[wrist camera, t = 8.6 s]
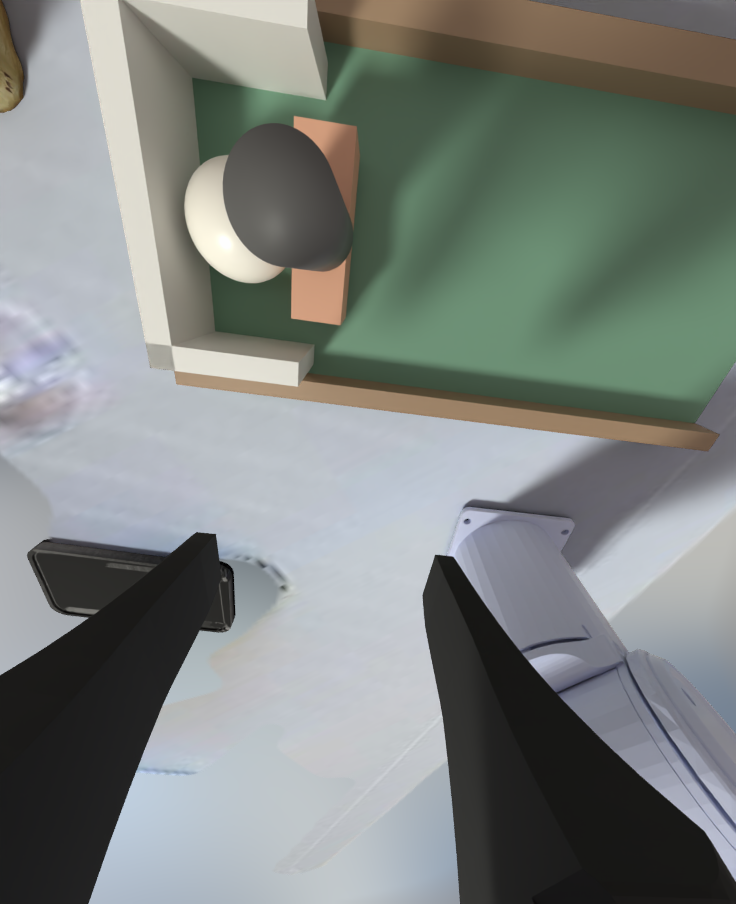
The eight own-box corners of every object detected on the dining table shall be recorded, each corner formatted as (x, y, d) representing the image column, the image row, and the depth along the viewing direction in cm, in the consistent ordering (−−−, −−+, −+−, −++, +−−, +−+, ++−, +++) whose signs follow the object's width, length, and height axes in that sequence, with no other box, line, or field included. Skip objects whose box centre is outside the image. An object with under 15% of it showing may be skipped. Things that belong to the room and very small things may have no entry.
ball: (269, 282, 16) (313, 292, 13) (178, 273, 13) (213, 283, 11) (267, 179, 14) (319, 169, 12) (162, 146, 12) (199, 123, 9)
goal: (313, 364, 17) (298, 386, 13) (197, 348, 17) (150, 368, 13) (327, 62, 12) (308, -30, 8) (160, 33, 12) (65, -75, 8)
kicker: (349, 318, 16) (328, 354, 8) (300, 311, 16) (233, 341, 8) (364, 156, 13) (353, -10, 5) (304, 146, 13) (207, -38, 5)
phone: (231, 633, 29) (52, 613, 28) (236, 622, 30) (64, 602, 29) (227, 572, 25) (21, 546, 24) (233, 561, 26) (35, 536, 25)
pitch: (670, 431, 20) (708, 451, 17) (200, 371, 18) (176, 384, 16) (867, 117, 13) (969, 83, 11) (154, -13, 12) (103, -80, 9)
